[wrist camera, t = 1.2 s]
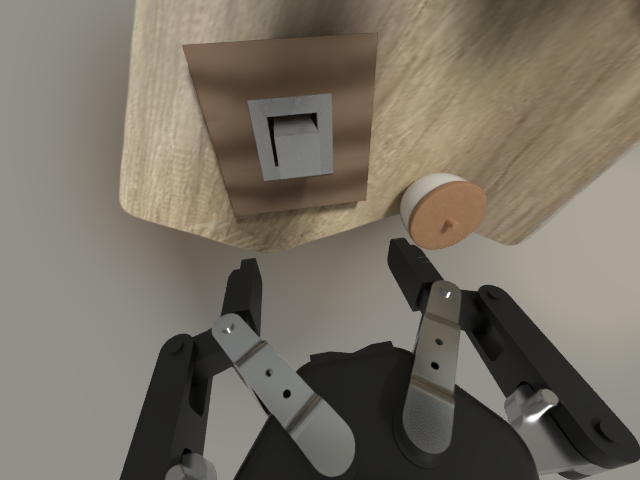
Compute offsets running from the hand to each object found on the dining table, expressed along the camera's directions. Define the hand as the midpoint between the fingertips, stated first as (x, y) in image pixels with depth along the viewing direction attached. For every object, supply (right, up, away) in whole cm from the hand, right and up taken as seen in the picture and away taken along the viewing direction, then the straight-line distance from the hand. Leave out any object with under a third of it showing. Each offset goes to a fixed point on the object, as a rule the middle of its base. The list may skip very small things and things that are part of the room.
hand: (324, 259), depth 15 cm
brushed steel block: (-4, +17, +22) cm, 28 cm away
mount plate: (-4, +17, +22) cm, 28 cm away
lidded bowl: (+19, +10, +32) cm, 39 cm away
